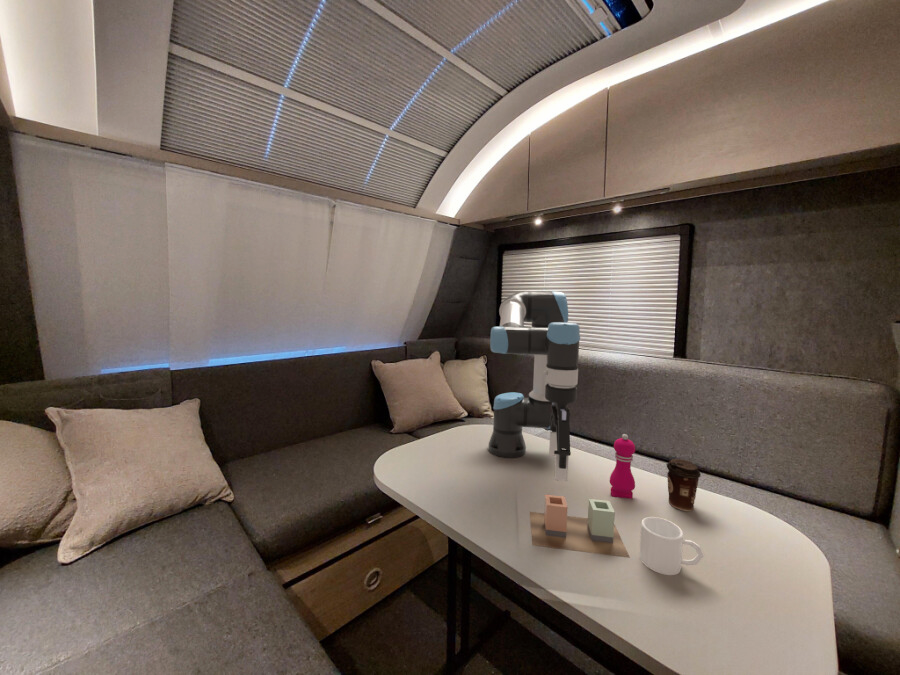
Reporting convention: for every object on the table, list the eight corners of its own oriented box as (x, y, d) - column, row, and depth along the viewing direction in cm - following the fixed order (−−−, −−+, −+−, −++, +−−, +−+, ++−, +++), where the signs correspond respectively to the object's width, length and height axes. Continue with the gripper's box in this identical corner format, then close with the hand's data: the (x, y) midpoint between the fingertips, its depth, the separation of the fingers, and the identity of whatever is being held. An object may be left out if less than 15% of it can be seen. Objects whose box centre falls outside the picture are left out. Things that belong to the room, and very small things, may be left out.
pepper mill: (637, 503, 107) (641, 439, 105) (611, 500, 108) (615, 437, 106) (630, 491, 114) (634, 431, 112) (606, 488, 115) (609, 429, 113)
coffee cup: (660, 504, 106) (663, 463, 105) (666, 494, 112) (669, 454, 111) (695, 517, 100) (698, 473, 99) (699, 505, 106) (703, 463, 105)
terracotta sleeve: (543, 523, 94) (545, 494, 93) (563, 525, 93) (564, 496, 92) (545, 535, 89) (546, 505, 88) (566, 537, 88) (567, 507, 87)
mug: (700, 597, 72) (704, 552, 72) (635, 569, 80) (638, 528, 79) (703, 574, 79) (706, 532, 78) (642, 550, 86) (645, 512, 85)
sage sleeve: (587, 528, 92) (588, 498, 91) (607, 530, 91) (609, 500, 91) (591, 540, 87) (593, 509, 86) (613, 543, 86) (614, 512, 86)
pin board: (529, 516, 99) (530, 491, 98) (612, 526, 95) (614, 499, 95) (532, 550, 85) (533, 521, 85) (629, 563, 82) (631, 532, 81)
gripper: (541, 374, 100) (538, 446, 102) (550, 396, 76) (546, 490, 78) (569, 375, 99) (565, 448, 101) (587, 398, 75) (582, 494, 77)
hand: (557, 466), depth 90 cm, fingers open, 13 cm apart
